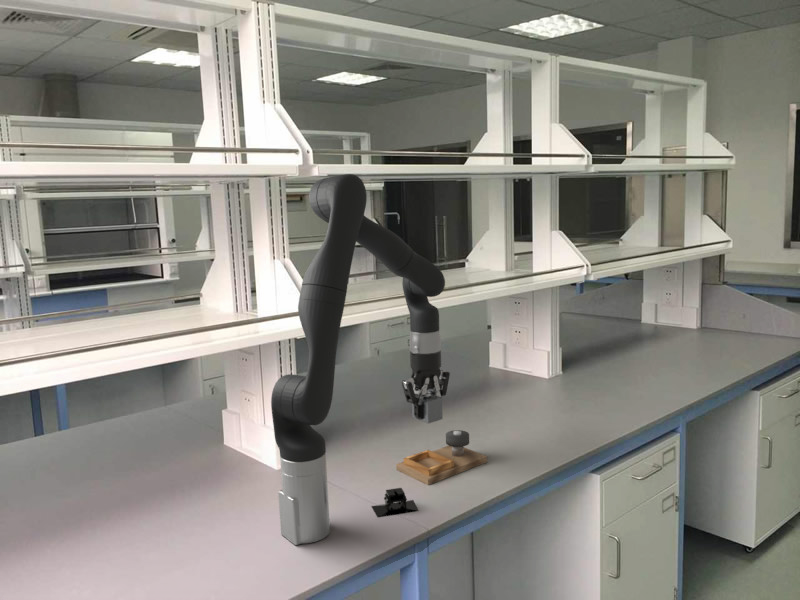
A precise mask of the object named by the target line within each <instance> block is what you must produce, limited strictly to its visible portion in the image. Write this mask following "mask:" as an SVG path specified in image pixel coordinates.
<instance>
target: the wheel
mask: <svg viewBox="0 0 800 600" xmlns="http://www.w3.org/2000/svg"><path fill="white" fill-rule="evenodd" d="M445 444H446V446H452V447H463V446H464V447H467V446H469V444H470V433H469V432H468V431H465V430H460V429H459V430H458V429H454V430H449V431H447V432H446V433H445Z"/></svg>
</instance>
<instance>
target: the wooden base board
mask: <svg viewBox="0 0 800 600" xmlns="http://www.w3.org/2000/svg"><path fill="white" fill-rule="evenodd" d="M487 462H488V456H487V455H484V454H482V453H479V452H477V451H474V450H472V449H469V448H466V447H465V446H463V447H452V446H449V445H446V446H444V447H441V448H438V449H436V450H431V449H427V450H424V451H423V450H422V451H420V452H417V453H415V454H412V455H409V456H406V457H404V458H403V461H401V462H399V463H396V471H398V472H400V473H402V474H404V475H406V476H408V477H410V478H413V479H414V480H416V481H419V482H421V483H423V484H424V485H426V486H429V485H432V484H434V483H437V482H440V481H442V480H444V479H446V478H447V479H448V478H450V477H452V476H455V475H457V474H460V473H462V472H465V471H468V470H471V469H473V468H476V467H478V466H480V465H483V464H485V463H487Z"/></svg>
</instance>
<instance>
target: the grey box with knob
mask: <svg viewBox="0 0 800 600" xmlns="http://www.w3.org/2000/svg"><path fill="white" fill-rule="evenodd" d="M418 397H419V395H418ZM422 405H423V419H421V420H419V419H417V418H416V417H415V416H414V404H412V403H411V411H412V412H411V415H412V417H411V418H413V419H414V420H418V421H419V422H423V423H425V424H431V423H434V422H438V421H441V420H443V396H442V397H439V396H436V395H433V394H432V393H431V392H430V391H429V390H426V395H425V396H424V397H423V402H422Z"/></svg>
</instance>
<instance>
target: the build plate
mask: <svg viewBox="0 0 800 600" xmlns="http://www.w3.org/2000/svg"><path fill="white" fill-rule="evenodd" d="M383 499H384V500H383V501H384V503H382V504H376V505H371V506H370V507H371V508H372V510H373V512H374V514H375V516H376V517H377V518H379V519H380V518H383V517H390V516H396V515H397V516H398V515H403V514H408V513H409V514H411V513H414V512H419V511H420V510H419V508H418V507H417V504H416V503H415V501H414V499H411V500H410V499H409V500H408V499H407V496H406V493H405V491H404V489H403V488H402V487H398V488H391V489H385V493H384V497H383Z"/></svg>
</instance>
